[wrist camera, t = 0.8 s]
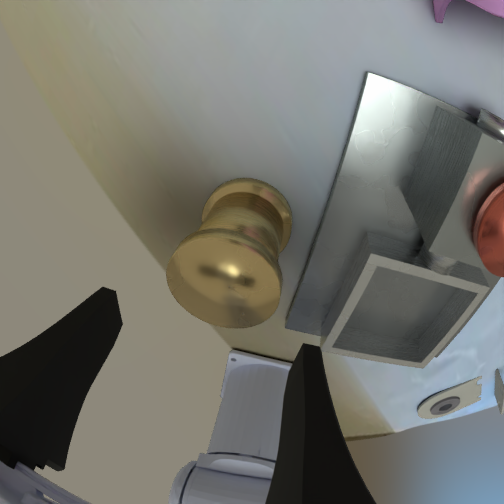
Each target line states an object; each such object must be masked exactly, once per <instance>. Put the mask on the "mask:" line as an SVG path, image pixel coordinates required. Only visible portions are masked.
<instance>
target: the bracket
mask: <svg viewBox="0 0 504 504" xmlns="http://www.w3.org/2000/svg"><path fill="white" fill-rule="evenodd" d="M481 378H482V376H479V377H477V378H474V379H472V380H469V381H467V382H464V383H461V384H459V385H456V386H453V387H451V388H449V389H446V390H444V391H442V392H439V393H437V394H435V395H433V396H432V397H430V398H428V399H427V400H426V401H424V402H423V403H422V404H421V405H420V406H419V408H418V411H417V412H418V416H419V417H421V418H425V419H432V418H438V417H442V416H445V415H447V414H450V413H452V412H455V411H457V410H459V409H462V408H464V407H466V406H469V405H471V404H473V403H475V402H477V401H480V400H481V397H480V398H478V396H479V395H481V386H482V384H480V385H477V381H478V380H479V379H481ZM495 397H496V400H497V404H498V407H499V410H500V414H503V411H504V384H503V381H502V379H501V376H500V373H499V371H498V369H497V370H496V373H495Z"/></svg>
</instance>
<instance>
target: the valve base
mask: <svg viewBox="0 0 504 504" xmlns="http://www.w3.org/2000/svg"><path fill="white" fill-rule="evenodd" d="M501 277H504V120H502V119H501V118H499V117H497V116H495V115H494V114H492V113H490V112H488V111H486V110H484V109H482V108H481V111H480V114H479V117H478V119H477V118H475V117H473V116H471V115H469V114H467V113H465V112H463V111H461V110H459V109H457V108H455V107H453V106H451V105H449V104H447V103H445V102H443V101H441V100H438V99H436V98H434V97H432V96H429V95H427V94H425V93H422V92H420V91H418V90H415V89H413V88H410V87H408V86H405V85H403V84H400V83H398V82H395V81H392V80H389V79H387V78H384V77H381V76H378V75H375V74H372V73H369V72H366V74H365V78H364V81H363V85H362V89H361V93H360V96H359V100H358V104H357V107H356V111H355V114H354V118H353V121H352V125H351V128H350V132H349V135H348V139H347V142H346V145H345V149H344V152H343V155H342V159H341V162H340V165H339V168H338V172H337V175H336V178H335V181H334V184H333V188H332V191H331V194H330V197H329V200H328V203H327V206H326V209H325V212H324V215H323V218H322V221H321V224H320V227H319V230H318V233H317V236H316V239H315V242H314V245H313V247H312V250H311V253H310V256H309V259H308V262H307V264H306V267H305V270H304V273H303V276H302V278H301V281H300V284H299V287H298V289H297V292H296V295H295V297H294V300H293V303H292V305H291V308H290V311H289V313H288V316H287V318H286V323H285V328H287V329H291V330H295V331H300V332H304V333H308V334H313V335H318V336H321V339H320V348H321V351H324V352H329V353H334V354H339V355H344V356H349V357H355V358H360V359H366V360H371V361H377V362H383V363H389V364H396V365H402V366H409V367H416V368H424V367H425V366H426V365H427V364H428V363H429V362H430V361H431V360H432V359H433V358H434V357H438V356H439V355H440V354H441V353H442V351H443V350H444V349H445V348H446V347H447V346H448V345H449V344H450V342H451V341H452V340H453V339H454V338H455V337H456V336H457V334H458V333H459V332H460V331H461V330H462V328H463V327H464V326H465V325H466V324H467V322H468V321H469V320H470V319H471V317H472V316H473V315H474V314H475V312H476V311H477V310H478V308H479V307H480V306H481V304H482V303H483V302H484V300H485V299H486V298H487V296H488V295H489V294H490V292H491V291H492V289H493V288H494V287H495V285H496V284H497V282H498V281H499V279H500V278H501Z"/></svg>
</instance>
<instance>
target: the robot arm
mask: <svg viewBox="0 0 504 504" xmlns="http://www.w3.org/2000/svg"><path fill="white" fill-rule="evenodd" d="M122 325H123V323H122V319H121V314H120V309H119V304H118V300H117V294H116V291H114V290H111V289H108V288H105V287H102V288H100V289H99V290H98V291H96V292H95V293H94V294H93V295H91V296H90V297H89V298H87V299H86V300H85V301H84V302H82V303H81V304H80V305H79V306H77V307H76V308H75V309H73V310H72V311H71V312H70V313H69V314H67V315H66V316H64V317H63V318H62V319H61V320H59V321H58V322H57V323H55V324H54V325H53V326H51V327H50V328H48V329H47V330H45V331H44V332H43V333H41V334H40V335H38V336H37V337H35V338H34V339H32V340H30V341H29V342H27V343H26V344H24V345H22V346H21V347H19V348H17V349H15V350H13V351H11V352H10V353H8V354H6V355H4V356H2V357H0V504H58V503H60V504H91V503H89V502H87V501H85V500H83V499H81V498H79V497H78V496H76V495H74V494H72V493H70V492H68V491H66V490H65V489H63V488H61V487H59V486H57V485H56V484H54V483H52V482H51V481H49V480H47V479H46V478H44V477H43V476H41V475H39V474H38V473H36V472H35V471H34V469H35V467H36V466H37V467H39V468H40V469H44V467H45V465H47V466H49V467H51V468H52V469H54V470H56V471H61V470H64V469H65V463H66V459H67V454H68V449H69V445H70V442H71V438H72V434H73V431H74V428H75V425H76V422H77V419H78V416H79V413H80V410H81V408H82V405H83V403H84V400H85V398H86V395H87V393H88V391H89V389H90V387H91V385H92V383H93V382H94V380H95V378H96V376H97V374H98V373H99V371H100V369H101V367H102V366H103V364H104V362H105V360H106V359H107V357H108V355H109V353H110V351H111V349H112V348H113V346H114V344H115V341H116V339H117V337H118V334H119V332H120V330H121V327H122ZM220 397H221V398H222V402H221V405H220V409H219V413H218V416H217V419H216V423H215V426H214V430H213V433H212V437H211V440H210V444H209V447H208V451H207V454H204V453H200V454H199V458H198V461H191V462H189V463H188V464H187V465H185V466H184V467H182V469H180V471H179V472H178V473H177V475H176V477H175V479H174V481H173V484H172V487H171V490H170V495H169V504H376V502H375V501H374V499H373V497H372V496H371V494H370V492H369V490H368V489H367V487H366V485H365V483H364V481H363V479H362V477H361V475H360V473H359V471H358V470H357V468H356V466H355V463H354V461H353V459H352V457H351V454H350V452H349V450H348V447H347V445H346V442H345V440H344V437H343V434H342V431H341V429H340V425H339V422H338V419H337V416H336V413H335V410H334V406H333V402H332V399H331V395H330V391H329V387H328V383H327V378H326V374H325V369H324V364H323V358H322V352H321V348H320V347H319V346H314V345H310V344H305V343H303V344H302V346H301V348H300V350H299V352H298V354H297V356H296V358H295V360H294V362H293V364H292V363H288V362H283V361H279V360H274V359H270V358H266V357H261V356H257V355H253V354H249V353H245V352H241V351H237V350H231V351H230V353H229V356H228V361H227V366H226V371H225V376H224V380H223V385H222V390H221V395H220ZM43 494H45V495H47V496H48V497H50V498H52V499H53V500H55V501H57V502H58V503H56V502H54V501H52V500H49V499H47V498H45V497H44V496H43Z"/></svg>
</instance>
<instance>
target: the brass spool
mask: <svg viewBox="0 0 504 504" xmlns="http://www.w3.org/2000/svg"><path fill="white" fill-rule="evenodd" d="M291 229H292V212H291V209H290V206H289V204H288V202H287V200H286V199H285V198H284V196H283V195H282V194H281V193H280V192H279V191H278V190H277V189H276V188H274V187H273V186H271V185H270V184H268V183H266V182H263V181H261V180H257V179H252V178H237V179H233V180H230V181H227V182H225V183H223V184H222V185H220V186H219V187H218V188H217V189H216V190H215V191H214V192H213V193H212V195H211V196H210V198H209V199H208V201H207V202H206V204H205V206H204V209H203V213H202V225H201V226H200V228H199V230H198V231H197V232H194V233H192V234H190V235H189V236H187V237H186V238H185V239H184V240H183V241H182V242H181V243H180V244H179V246H178V247H177V249H176V250H175V252H174V254H173V255H172V257H171V259H170V261H169V263H168V266H167V271H166V276H167V283H168V286H169V289H170V291H171V293H172V295H173V296H174V298H175V299H176V300H177V302H178V303H179V304H180V305H181V306H182V307H183V308H184V309H186V311H188V312H189V313H191V314H192V315H194V316H195V317H197V318H199V319H200V320H202V321H205V322H207V323H209V324H212V325H216V326H220V327H225V328H247V327H252V326H255V325H258V324H260V323H262V322H264V321H266V320H267V319H268V318H270V317H271V316H272V315H273V313H274V312H275V311H276V309H277V307H278V304H279V300H280V295H281V289H282V280H283V279H282V272H281V269H280V266H279V264H278V257H279V253H280V252H281V251H282V250H283V249H284V248H285V247H286V245H287V243H288V241H289V238H290V234H291Z"/></svg>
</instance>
